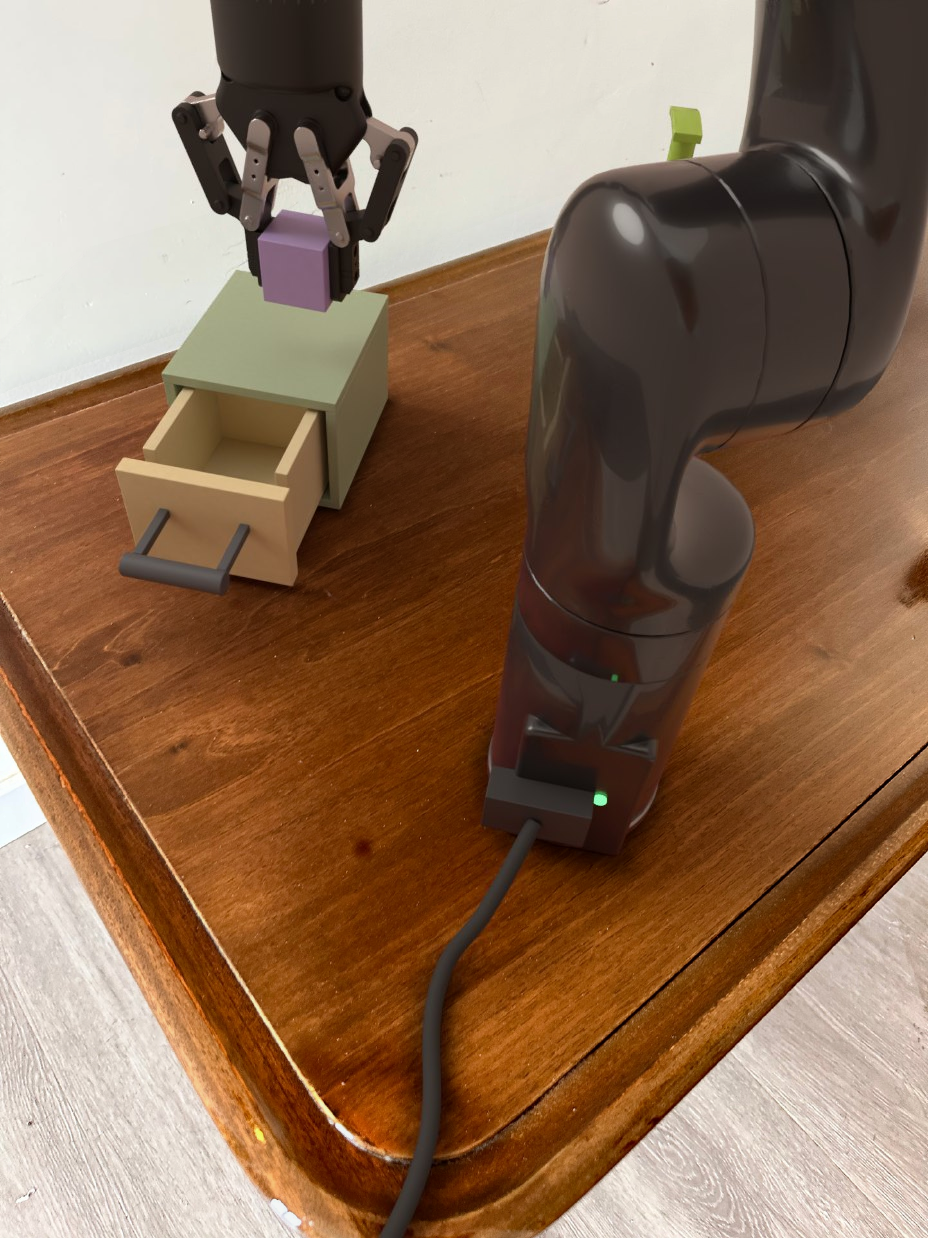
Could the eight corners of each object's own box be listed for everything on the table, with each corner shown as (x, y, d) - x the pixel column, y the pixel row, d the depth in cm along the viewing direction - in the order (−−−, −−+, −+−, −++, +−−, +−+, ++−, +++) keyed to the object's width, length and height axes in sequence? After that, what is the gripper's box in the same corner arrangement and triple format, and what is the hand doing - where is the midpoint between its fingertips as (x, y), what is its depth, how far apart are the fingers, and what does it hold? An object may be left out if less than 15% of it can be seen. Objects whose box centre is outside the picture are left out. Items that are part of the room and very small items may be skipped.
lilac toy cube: (346, 281, 60) (344, 219, 57) (325, 313, 58) (322, 250, 55) (286, 269, 61) (281, 208, 58) (263, 301, 58) (257, 238, 55)
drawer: (264, 650, 56) (252, 565, 51) (101, 617, 57) (71, 530, 51) (347, 463, 68) (344, 378, 62) (210, 438, 68) (195, 352, 63)
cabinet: (340, 510, 66) (335, 404, 59) (183, 480, 67) (161, 373, 60) (388, 398, 74) (388, 294, 68) (248, 373, 75) (235, 269, 69)
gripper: (112, -36, 44) (172, 298, 57) (403, 9, 43) (398, 341, 56) (180, -75, 49) (222, 240, 62) (444, -36, 48) (431, 279, 61)
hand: (305, 287), depth 59 cm, fingers closed on lilac toy cube, 4 cm apart
